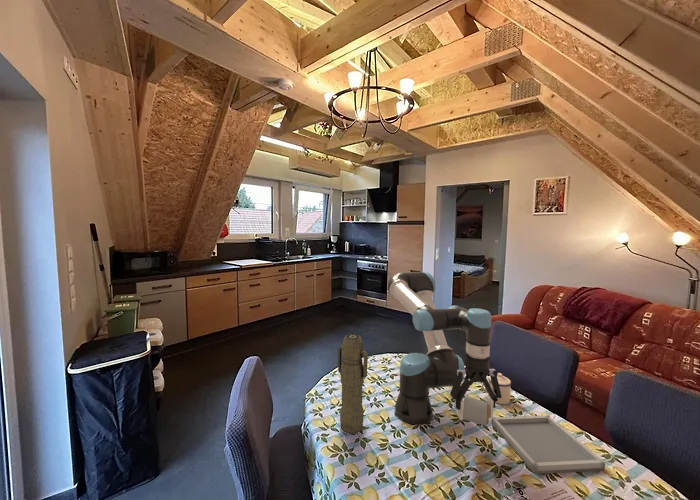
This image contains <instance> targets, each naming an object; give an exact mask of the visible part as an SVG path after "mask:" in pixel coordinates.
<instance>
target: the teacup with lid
mask: <svg viewBox="0 0 700 500" xmlns="http://www.w3.org/2000/svg"><path fill="white" fill-rule="evenodd" d="M497 379H498V383H499V387H500V392H501V396H502V397H501V398H497V399H498V401H497V402H495V404H499V405H508V404H510V402H511V385H512V380H510V379H509V378H508V377H506V376H504V375H503V374H502V373H501V372H498V375H497ZM487 380H488V382H489V385H490V387H491V389H492V390H493V386H492V382H491V377H490V375H489V376H488V377H487ZM480 387H481V390H482V391H483V392H484V393H485V394H487V396H489V394H488V392H487V390H486V389H485V386H484V384H483V382H481V386H480ZM493 392H494V390H493ZM489 397H490V396H489Z"/></svg>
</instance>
